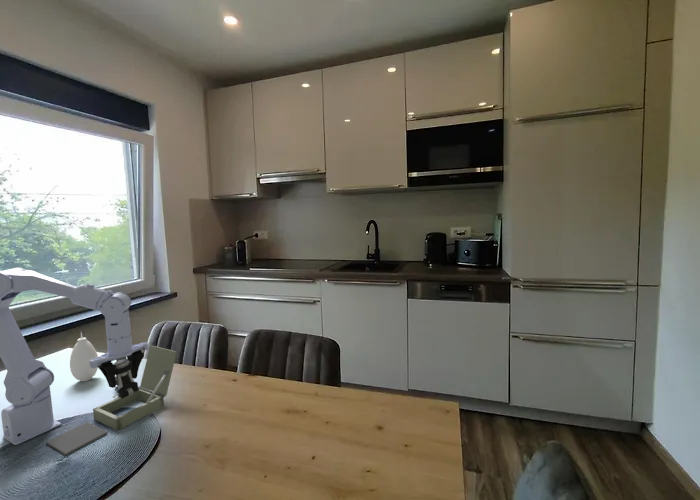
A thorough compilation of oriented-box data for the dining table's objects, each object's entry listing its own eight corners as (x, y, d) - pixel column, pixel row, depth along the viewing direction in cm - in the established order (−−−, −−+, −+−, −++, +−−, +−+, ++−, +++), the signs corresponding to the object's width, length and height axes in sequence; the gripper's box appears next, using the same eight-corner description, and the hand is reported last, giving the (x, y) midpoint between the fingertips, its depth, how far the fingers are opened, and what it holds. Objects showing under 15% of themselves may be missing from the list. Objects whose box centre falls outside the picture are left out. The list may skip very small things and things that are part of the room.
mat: (65, 455, 80) (65, 453, 80) (46, 443, 84) (46, 441, 84) (107, 433, 88) (107, 431, 88) (87, 423, 92) (87, 422, 92)
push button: (119, 403, 92) (111, 370, 90) (108, 400, 94) (100, 367, 93) (143, 390, 98) (135, 358, 96) (132, 387, 100) (124, 356, 98)
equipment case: (117, 430, 89) (112, 375, 87) (93, 419, 94) (88, 367, 93) (180, 397, 105) (176, 350, 104) (157, 389, 111) (153, 344, 109)
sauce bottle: (76, 378, 120) (70, 329, 119) (102, 373, 124) (97, 326, 122) (68, 387, 113) (63, 336, 112) (96, 382, 117) (91, 332, 115)
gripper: (97, 347, 86) (102, 397, 87) (152, 330, 99) (156, 374, 100) (83, 343, 89) (88, 391, 91) (138, 327, 102) (142, 369, 103)
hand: (123, 382), depth 96 cm, fingers closed on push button, 5 cm apart
